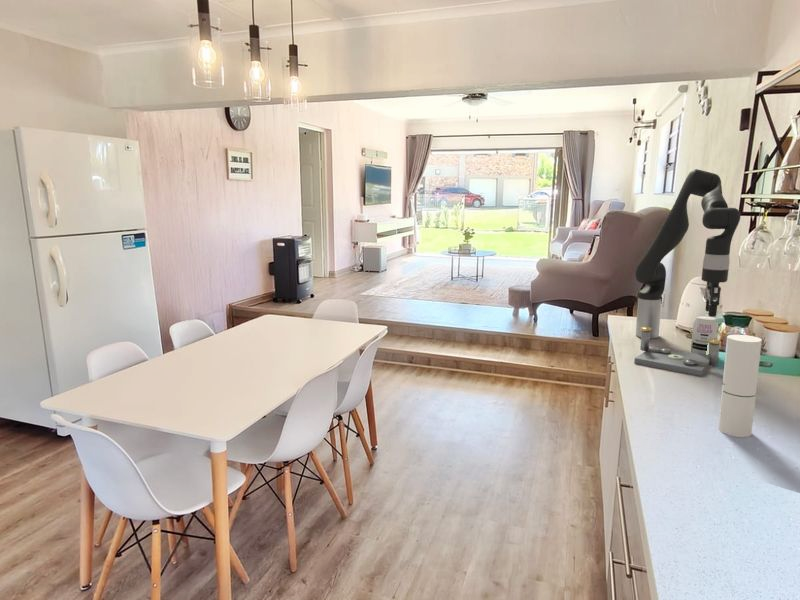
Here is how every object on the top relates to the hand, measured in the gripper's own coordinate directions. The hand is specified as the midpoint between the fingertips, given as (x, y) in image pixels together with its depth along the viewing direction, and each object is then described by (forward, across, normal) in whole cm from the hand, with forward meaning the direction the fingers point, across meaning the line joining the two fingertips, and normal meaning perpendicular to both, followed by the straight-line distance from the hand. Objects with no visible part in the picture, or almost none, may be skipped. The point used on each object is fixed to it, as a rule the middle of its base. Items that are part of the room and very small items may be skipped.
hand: (710, 313), depth 170 cm
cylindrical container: (+20, -52, -2) cm, 55 cm away
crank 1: (+19, +10, +16) cm, 27 cm away
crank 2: (+18, -1, +2) cm, 19 cm away
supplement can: (+21, +18, -1) cm, 28 cm away
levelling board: (+21, +5, +9) cm, 23 cm away
